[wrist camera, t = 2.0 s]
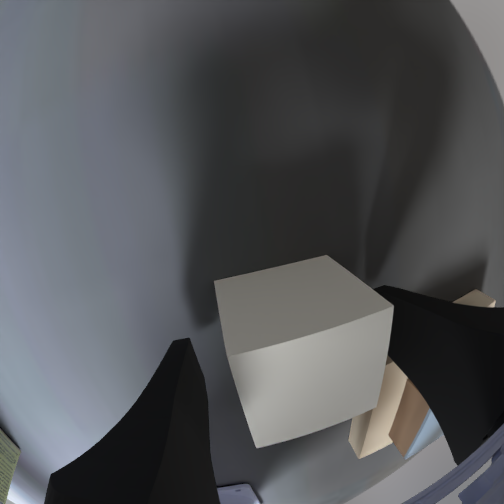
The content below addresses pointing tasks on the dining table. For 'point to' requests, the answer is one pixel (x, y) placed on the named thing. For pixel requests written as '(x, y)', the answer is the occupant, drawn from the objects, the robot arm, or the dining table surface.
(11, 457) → the box
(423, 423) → the base
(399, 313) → the robot arm
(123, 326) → the dining table surface
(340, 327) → the cream cube
